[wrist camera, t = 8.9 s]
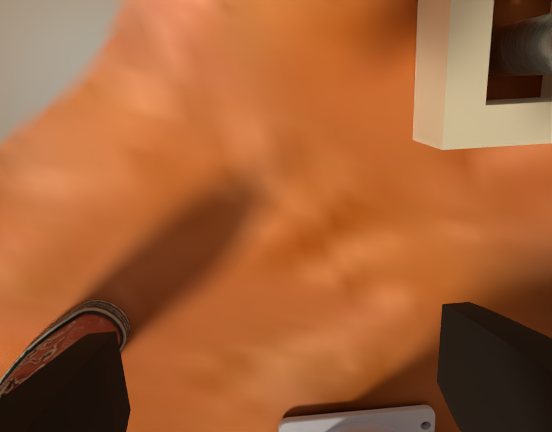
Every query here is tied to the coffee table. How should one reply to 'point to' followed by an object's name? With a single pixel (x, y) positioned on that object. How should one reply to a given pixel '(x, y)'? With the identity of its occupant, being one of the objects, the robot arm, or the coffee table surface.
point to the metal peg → (522, 47)
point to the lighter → (66, 339)
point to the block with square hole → (468, 83)
